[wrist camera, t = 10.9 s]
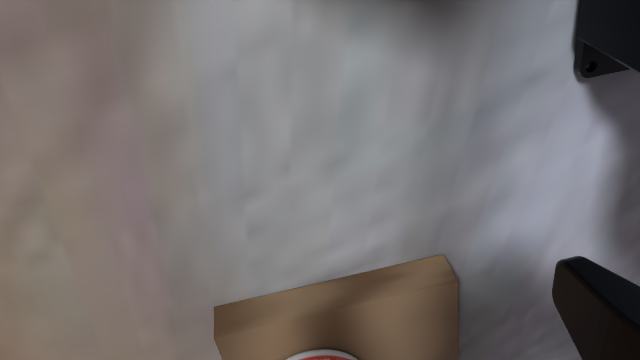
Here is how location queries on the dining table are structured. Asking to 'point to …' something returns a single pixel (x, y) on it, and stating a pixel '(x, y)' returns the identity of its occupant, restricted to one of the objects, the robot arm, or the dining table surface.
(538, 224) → the dining table surface
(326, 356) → the pill bottle
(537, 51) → the dining table surface
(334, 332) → the wooden board
